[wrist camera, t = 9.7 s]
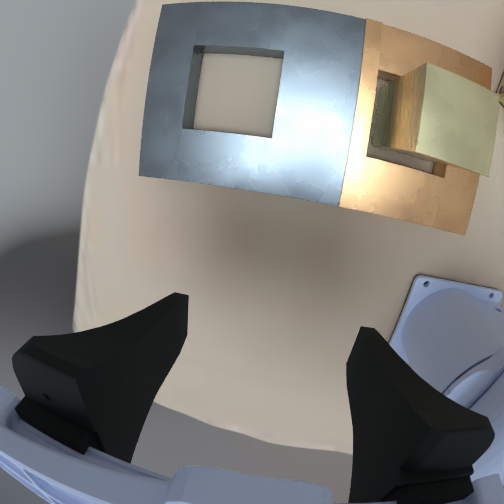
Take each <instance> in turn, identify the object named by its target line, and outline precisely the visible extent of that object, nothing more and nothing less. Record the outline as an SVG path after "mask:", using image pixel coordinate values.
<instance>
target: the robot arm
mask: <svg viewBox="0 0 504 504" xmlns="http://www.w3.org/2000/svg"><path fill="white" fill-rule="evenodd" d="M425 281H428V283H427V284H426V285H423V284H424V282H425ZM490 294H491V295H490ZM489 295H490V296H489ZM502 296H503V293H502V292H501V291H500V290H497V289H492V288H487V287H481V286H476V285H471V284H466V283H461V282H455V281H450V280H445V279H440V278H434V277H429V276H424V275H419V276H417V277H416V278H415V279H414V281H413V284H412V287H411V290H410V292H409V295H408V298H407V300H406V303H405V306H404V308H403V311H402V313H401V316H400V318H399V321H398V323H397V326H396V328H395V330H394V333H393V335H392V337H391V340H390V342H389V344H388V342H387V341H386V340H385V339H384V338H383V337H382V336H381V335H380V333H379V332H378V331H377V330H376V329H375V328H369V327H362V326H361V327H360V330H359V333H358V335H357V338H356V341H355V343H354V346H353V348H352V351H351V353H350V356H349V358H348V361H347V363H346V376H347V390H348V397H349V403H350V410H351V417H352V425H353V466H352V478H351V488H350V496H349V502H348V503H332V492H331V491H330V490H328V489H326V488H325V487H324V486H322V485H320V484H317V483H312V482H306V481H298V480H289V479H280V478H272V477H265V476H259V475H253V474H246V473H241V472H235V471H231V470H226V469H221V468H216V467H211V466H203V465H190V466H183V467H180V468H178V470H177V471H176V473H175V475H174V477H173V478H171V477H168V476H164V475H161V474H158V473H155V472H152V471H149V470H146V469H143V468H141V467H138V466H135V465H132V464H130V463H131V460H132V457H133V453H134V450H135V447H136V444H137V442H138V439H139V436H140V433H141V430H142V427H143V425H144V422H145V420H146V417H147V415H148V412H149V410H150V407H151V405H152V403H153V400H154V398H155V396H156V394H157V392H158V390H159V388H160V387H161V385H162V383H163V382H164V380H165V378H166V376H167V375H168V373H169V371H170V370H171V368H172V366H173V364H174V363H175V361H176V359H177V357H178V356H179V354H180V352H181V349H182V347H183V344H184V342H185V339H186V337H187V327H188V298H189V295H185V294H180V293H176V292H175V293H173V294H171V295H169V296H167V297H165V298H163V299H161V300H160V301H158V302H156V303H154V304H152V305H150V306H148V307H147V308H145V309H143V310H141V311H139V312H137V313H134V314H132V315H130V316H128V317H126V318H124V319H121V320H119V321H116V322H114V323H111V324H108V325H105V326H102V327H98V328H94V329H90V330H86V331H82V332H76V333H71V334H63V335H52V336H33V337H32V338H31V339H30V340H28V341H27V342H26V343H25V344H24V345H23V346H22V347H21V348H20V349H19V350H18V351H17V352H16V353H15V354H14V355H13V357H12V363H13V369H14V372H15V374H16V376H17V379H18V381H19V383H20V385H21V387H22V390H23V392H24V394H25V397H24V398H23V399H22V400H21V401H20V399H19V398H18V397H17V396H16V395H15V394H13V393H12V392H10V391H9V390H7V389H6V388H5V387H3V386H2V385H0V467H2V468H3V469H4V470H5V471H7V472H8V473H9V474H11V475H12V476H13V477H14V478H16V479H17V480H18V481H20V482H21V483H22V484H24V485H25V486H26V487H28V488H29V489H30V490H32V491H33V492H35V493H36V494H37V495H39V496H40V497H42V498H43V499H45V500H46V501H48V502H49V503H51V504H504V308H503V307H502V306H501V305H500V304H499V303H500V301H501V299H502ZM407 363H409V364H410V366H411V367H410V366H409V365H408V364H407Z"/></svg>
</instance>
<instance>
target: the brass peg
mask: <svg viewBox="0 0 504 504" xmlns="http://www.w3.org/2000/svg"><path fill="white" fill-rule="evenodd" d="M498 108H499V95H498V94H496V93H494V92H492V91H491V90H489V89H487V88H485V87H483V86H481V85H479V84H477V83H474V82H472V81H470V80H468V79H466V78H464V77H461V76H459V75H457V74H455V73H452V72H450V71H448V70H445V69H443V68H440V67H438V66H435V65H432V64H430V63H425V64H423V65H421V66H419V67H417V68H416V69H414V70H412V71H410V72H408V73H406V74H404V75H403V76H401V77H399V78H397V79H395V80H394V81H392V82H390V83H388V84H386V85H385V86H383V87H381V88H380V95H379V103H378V110H377V117H376V123H375V129H374V136H373V141H372V145H373V146H377V147H381V148H385V149H389V150H392V151H396V152H399V153H403V154H407V155H410V156H413V157H417V158H420V159H423V160H427V161H431V162H435V163H439V164H443V165H447V166H451V167H455V168H458V169H462V170H466V171H469V172H473V173H476V174H480V175H483V176H486V177H489V172H490V167H491V161H492V156H493V149H494V143H495V136H496V128H497V119H498Z"/></svg>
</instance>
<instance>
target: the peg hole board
mask: <svg viewBox="0 0 504 504" xmlns="http://www.w3.org/2000/svg"><path fill="white" fill-rule="evenodd" d="M203 53H227V54H243V55H256V56H266V57H275V58H283V66H282V73H281V80H280V87H279V94H278V100H277V107H276V114H275V121H274V128H273V135H272V138H267V137H260V136H252V135H245V134H236V133H227V132H218V131H208V130H196V129H193V120H194V112H195V105H196V97H197V90H198V83H199V77H200V70H201V64H202V58H203ZM425 63H430V64H432V65H435V66H438V67H440V68H443V69H445V70H448V71H450V72H452V73H455V74H457V75H459V76H461V77H464V78H466V79H468V80H470V81H472V82H474V83H477V84H479V85H481V86H483V87H485V88H487V89H489V90H491V75H492V68H491V67H489V66H487V65H485V64H483V63H481V62H479V61H477V60H475V59H473V58H471V57H469V56H467V55H465V54H462V53H460V52H458V51H456V50H453V49H451V48H449V47H446V46H444V45H442V44H439V43H437V42H434V41H432V40H429V39H426V38H424V37H421V36H418V35H415V34H413V33H410V32H407V31H404V30H401V29H397V28H394V27H391V26H388V25H384V24H382V23H381V22H378V21H374V20H370V19H367V18H366V19H362V18H357V17H353V16H349V15H344V14H339V13H334V12H329V11H323V10H318V9H311V8H304V7H297V6H289V5H279V4H268V3H253V2H191V3H176V4H165V5H162V9H161V14H160V18H159V23H158V28H157V33H156V38H155V43H154V49H153V54H152V60H151V66H150V72H149V79H148V86H147V93H146V101H145V109H144V118H143V128H142V138H141V150H140V164H139V176H146V177H155V178H164V179H172V180H180V181H188V182H196V183H204V184H211V185H218V186H225V187H232V188H239V189H245V190H251V191H258V192H264V193H270V194H276V195H282V196H288V197H293V198H299V199H304V200H310V201H315V202H320V203H326V204H331V205H336V206H339V207H343V208H347V209H352V210H360V211H365V212H370V213H374V214H379V215H383V216H388V217H392V218H396V219H401V220H405V221H409V222H413V223H418V224H422V225H426V226H430V227H434V228H438V229H442V230H445V231H449V232H453V233H457V234H461V235H464V236H465V233H466V229H467V226H468V222H469V218H470V215H471V211H472V207H473V203H474V199H475V195H476V190H477V186H478V181H479V176H480V174H476V173H473V172H469V171H466V170H462V169H458V168H455V167H451V166H447V165H443V164H439V163H434V168H433V173H432V174H430V173H427V172H423V171H420V170H417V169H413V168H410V167H406V166H402V165H399V164H395V163H391V162H387V161H383V160H379V159H375V158H371V157H367V156H366V152H367V146H368V140H369V134H370V128H371V121H372V115H373V108H374V100H375V93H376V85H377V77H379V78H382V79H386V80H389V81H394V80H395V79H397V78H399V77H401V76H403V75H404V74H406V73H408V72H410V71H412V70H414V69H416V68H417V67H419V66H421V65H423V64H425Z"/></svg>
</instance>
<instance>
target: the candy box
mask: <svg viewBox="0 0 504 504" xmlns="http://www.w3.org/2000/svg"><path fill="white" fill-rule="evenodd" d="M496 94H498V95H499V101H500V102H501V103H502V104H503V105H504V75H503V78H502V80H501V83H500V86H499V88H498V90H497V93H496Z"/></svg>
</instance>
